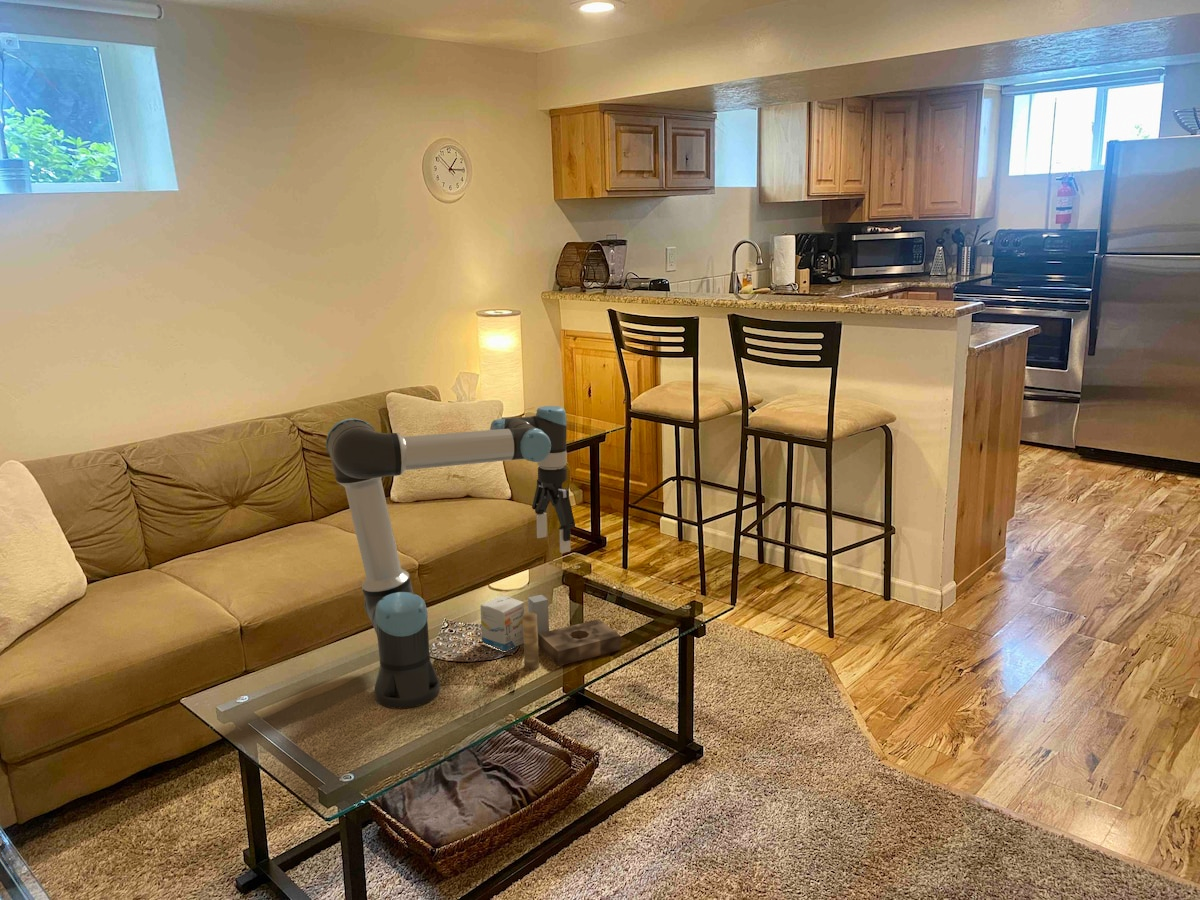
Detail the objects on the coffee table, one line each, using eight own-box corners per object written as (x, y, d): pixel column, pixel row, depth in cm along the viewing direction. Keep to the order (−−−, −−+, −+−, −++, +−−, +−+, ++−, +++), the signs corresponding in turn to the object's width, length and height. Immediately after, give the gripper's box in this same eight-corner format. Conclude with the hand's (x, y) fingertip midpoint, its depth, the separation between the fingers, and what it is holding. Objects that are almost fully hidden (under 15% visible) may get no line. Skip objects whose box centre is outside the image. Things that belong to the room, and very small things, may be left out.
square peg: (535, 644, 235) (534, 602, 233) (529, 639, 239) (527, 597, 236) (549, 641, 237) (547, 599, 234) (543, 635, 241) (541, 594, 238)
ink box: (504, 653, 231) (502, 612, 228) (481, 645, 236) (479, 604, 233) (526, 641, 237) (525, 601, 235) (503, 634, 242) (501, 593, 240)
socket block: (558, 666, 223) (557, 651, 222) (538, 647, 234) (538, 633, 233) (620, 649, 231) (620, 635, 230) (599, 632, 242) (598, 618, 241)
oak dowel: (528, 671, 221) (525, 619, 217) (522, 665, 224) (520, 614, 221) (541, 668, 222) (539, 616, 219) (535, 662, 225) (533, 611, 222)
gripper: (588, 474, 220) (588, 555, 225) (544, 454, 241) (545, 529, 246) (561, 478, 216) (562, 561, 221) (518, 458, 238) (520, 533, 242)
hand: (553, 544), depth 234 cm, fingers open, 13 cm apart
